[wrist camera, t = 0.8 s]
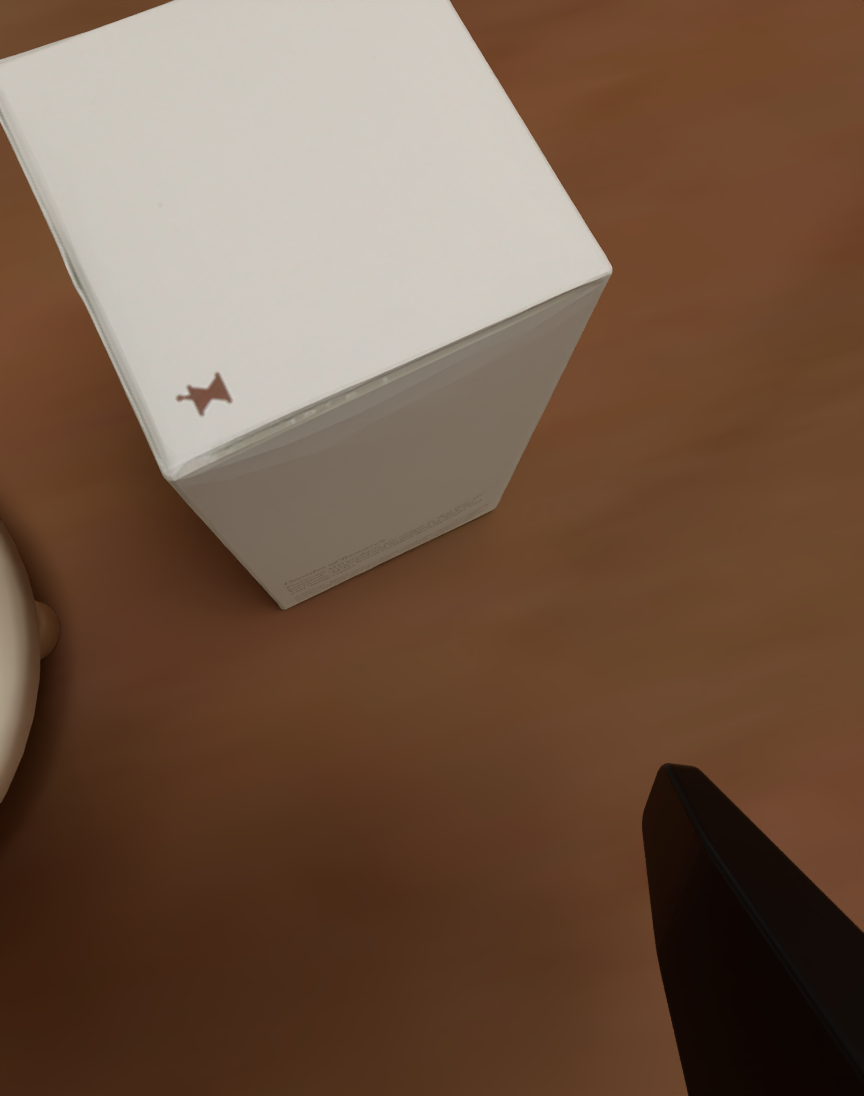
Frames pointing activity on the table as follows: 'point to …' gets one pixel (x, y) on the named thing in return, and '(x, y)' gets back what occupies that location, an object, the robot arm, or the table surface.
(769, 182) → the table surface
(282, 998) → the table surface
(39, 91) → the supplement box
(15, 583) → the stool
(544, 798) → the table surface
